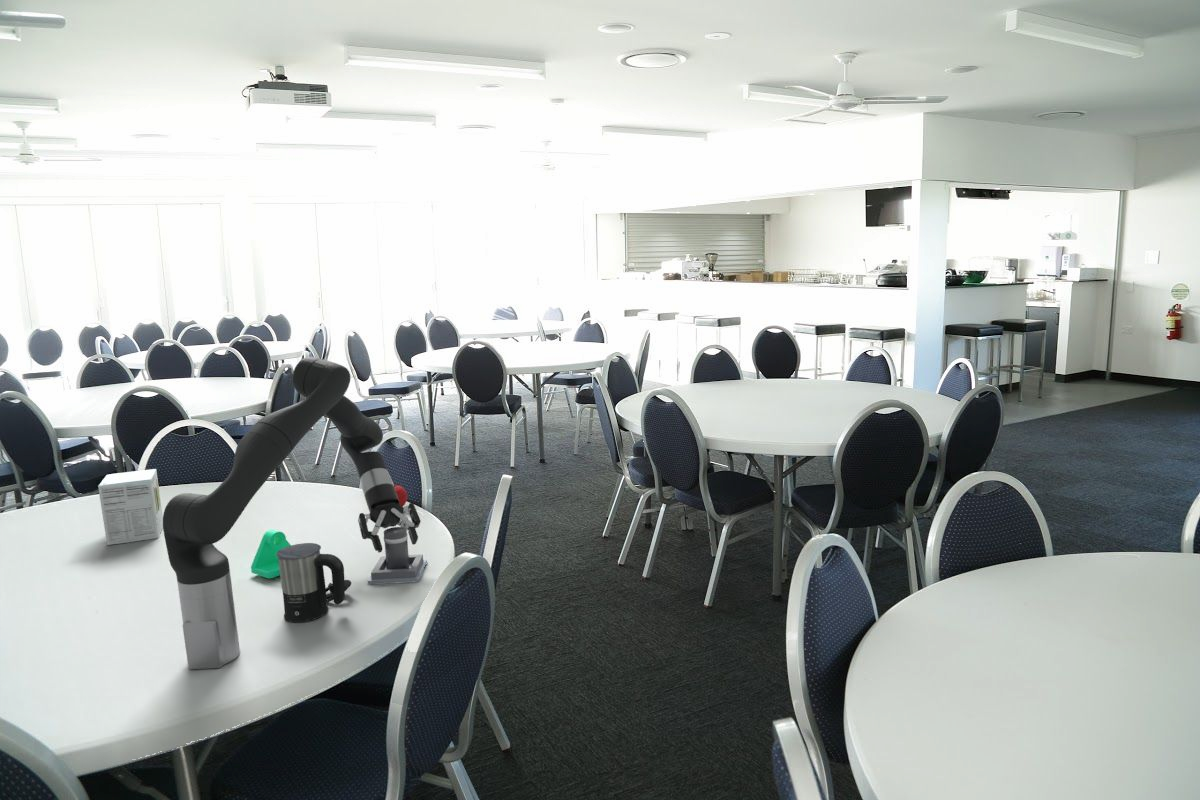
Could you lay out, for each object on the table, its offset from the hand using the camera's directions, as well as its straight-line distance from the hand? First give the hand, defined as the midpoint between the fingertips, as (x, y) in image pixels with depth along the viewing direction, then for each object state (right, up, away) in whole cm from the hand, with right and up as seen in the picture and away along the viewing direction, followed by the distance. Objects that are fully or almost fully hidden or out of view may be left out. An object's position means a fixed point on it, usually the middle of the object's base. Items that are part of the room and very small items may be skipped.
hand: (397, 546), depth 197 cm
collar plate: (0, -7, +2) cm, 7 cm away
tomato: (-14, +2, +53) cm, 55 cm away
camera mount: (-30, -8, +7) cm, 32 cm away
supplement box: (-85, -4, +38) cm, 93 cm away
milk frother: (-14, -11, -15) cm, 23 cm away
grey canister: (0, -6, +2) cm, 6 cm away
